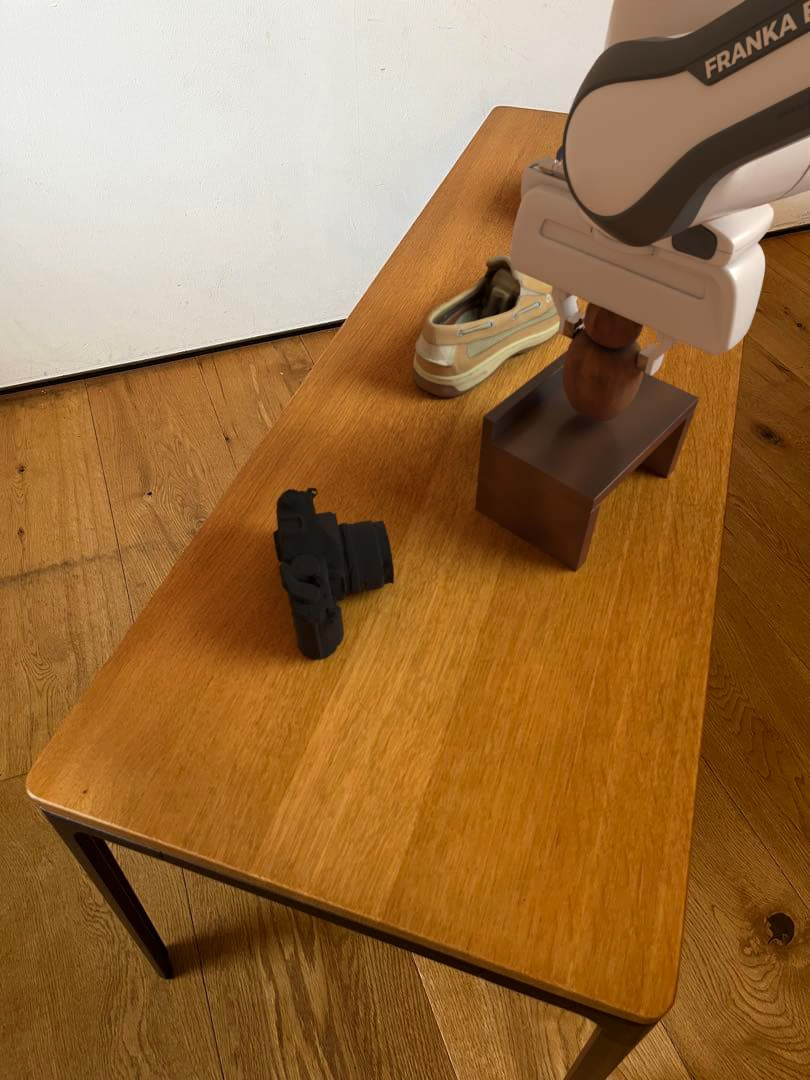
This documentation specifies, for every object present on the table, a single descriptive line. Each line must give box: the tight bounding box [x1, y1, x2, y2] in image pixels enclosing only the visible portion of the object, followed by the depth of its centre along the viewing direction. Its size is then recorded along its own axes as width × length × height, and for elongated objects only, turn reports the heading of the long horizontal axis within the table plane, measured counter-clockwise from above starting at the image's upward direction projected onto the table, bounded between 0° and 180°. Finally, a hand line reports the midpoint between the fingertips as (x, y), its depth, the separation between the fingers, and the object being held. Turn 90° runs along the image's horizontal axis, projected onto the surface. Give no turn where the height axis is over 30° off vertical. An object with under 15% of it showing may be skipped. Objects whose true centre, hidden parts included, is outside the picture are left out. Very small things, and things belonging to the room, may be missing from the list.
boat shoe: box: [412, 254, 578, 398], centre depth 92 cm, size 10×29×11 cm, turn 144°
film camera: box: [272, 487, 395, 661], centre depth 68 cm, size 15×10×9 cm, turn 12°
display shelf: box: [474, 350, 700, 572], centre depth 75 cm, size 12×18×12 cm, turn 138°
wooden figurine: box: [562, 302, 644, 421], centre depth 66 cm, size 7×6×15 cm
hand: (608, 351), depth 67 cm, fingers closed on wooden figurine, 6 cm apart
